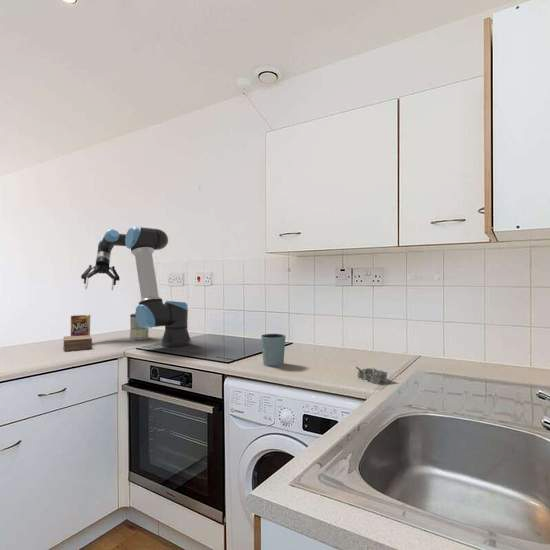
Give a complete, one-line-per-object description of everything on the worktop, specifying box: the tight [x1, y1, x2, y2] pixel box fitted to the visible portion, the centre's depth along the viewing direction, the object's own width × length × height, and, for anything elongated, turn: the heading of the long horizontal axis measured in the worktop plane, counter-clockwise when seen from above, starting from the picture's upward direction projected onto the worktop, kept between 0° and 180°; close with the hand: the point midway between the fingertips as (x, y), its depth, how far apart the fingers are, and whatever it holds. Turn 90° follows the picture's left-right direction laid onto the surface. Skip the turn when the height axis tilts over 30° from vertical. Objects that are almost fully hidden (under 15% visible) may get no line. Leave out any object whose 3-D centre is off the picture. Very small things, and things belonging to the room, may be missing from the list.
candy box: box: [70, 314, 91, 336], centre depth 199 cm, size 9×4×15 cm, turn 103°
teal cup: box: [260, 333, 286, 368], centre depth 153 cm, size 10×10×12 cm
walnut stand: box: [63, 334, 93, 351], centre depth 187 cm, size 14×12×5 cm
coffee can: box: [129, 313, 150, 340], centre depth 217 cm, size 10×10×14 cm
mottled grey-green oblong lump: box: [355, 366, 390, 384], centre depth 131 cm, size 11×8×4 cm
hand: (99, 288), depth 209 cm, fingers open, 13 cm apart
